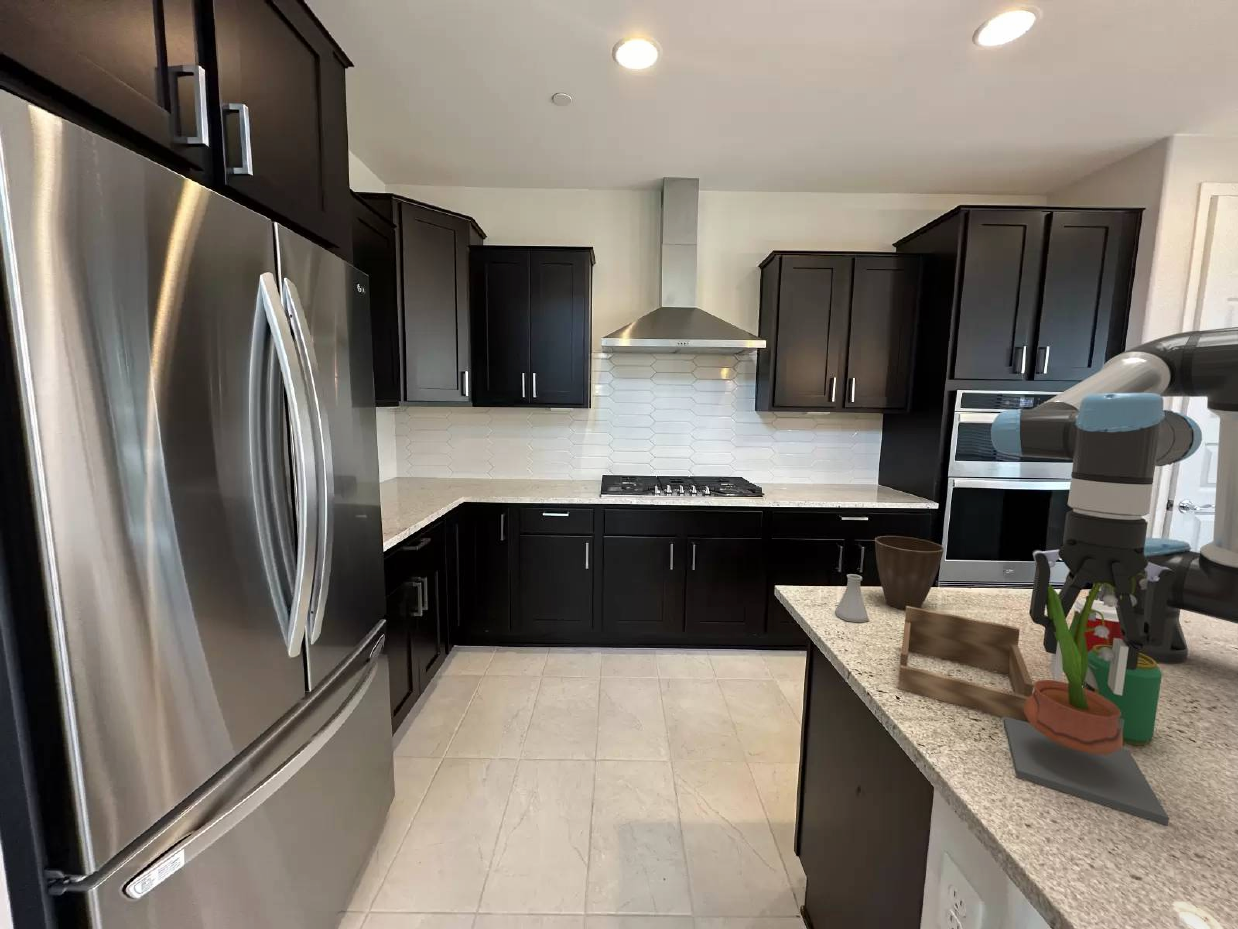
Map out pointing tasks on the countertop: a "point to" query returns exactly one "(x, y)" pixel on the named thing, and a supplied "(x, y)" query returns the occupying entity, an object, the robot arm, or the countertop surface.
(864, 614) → the flask
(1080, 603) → the paper cup
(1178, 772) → the countertop surface
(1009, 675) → the frame
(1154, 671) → the beverage can
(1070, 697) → the potted flower
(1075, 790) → the mat
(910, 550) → the plant pot
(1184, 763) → the countertop surface
